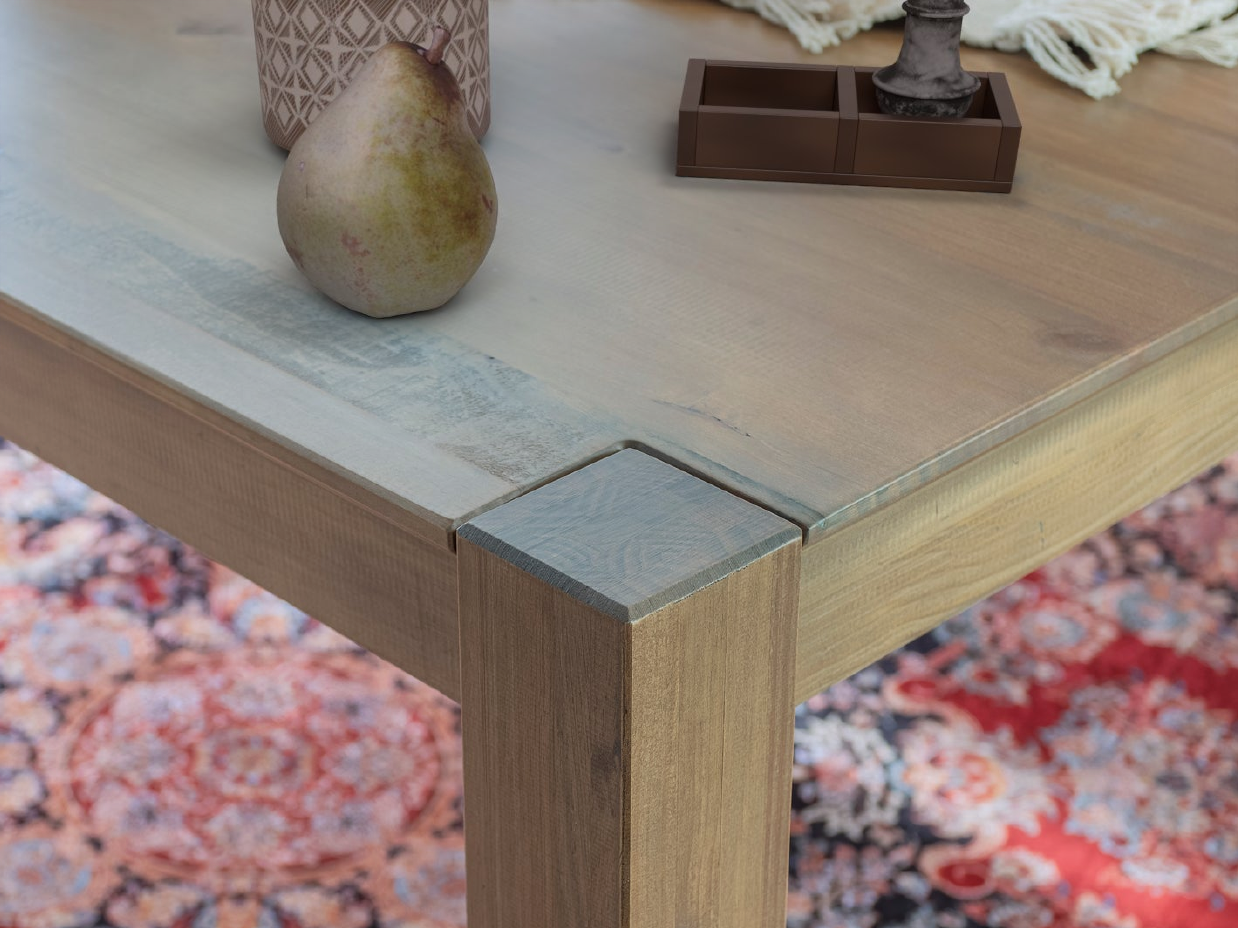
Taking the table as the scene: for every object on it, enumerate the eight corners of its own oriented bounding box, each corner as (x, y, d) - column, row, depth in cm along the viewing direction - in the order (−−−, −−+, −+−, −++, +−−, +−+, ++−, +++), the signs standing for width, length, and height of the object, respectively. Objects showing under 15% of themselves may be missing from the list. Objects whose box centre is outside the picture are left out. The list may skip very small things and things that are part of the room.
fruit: (541, 306, 76) (541, 38, 69) (378, 367, 71) (359, 83, 64) (402, 242, 82) (389, -12, 75) (242, 293, 77) (211, 26, 70)
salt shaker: (993, 149, 92) (1030, -82, 85) (916, 169, 89) (947, -68, 82) (919, 120, 96) (948, -103, 89) (843, 138, 93) (867, -91, 86)
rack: (994, 135, 96) (1004, 72, 94) (1011, 193, 89) (1022, 126, 87) (685, 120, 98) (688, 58, 96) (675, 176, 90) (678, 109, 88)
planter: (520, 168, 91) (518, -32, 85) (291, 193, 87) (272, -13, 81) (454, 99, 100) (449, -85, 94) (246, 120, 97) (226, -70, 91)
